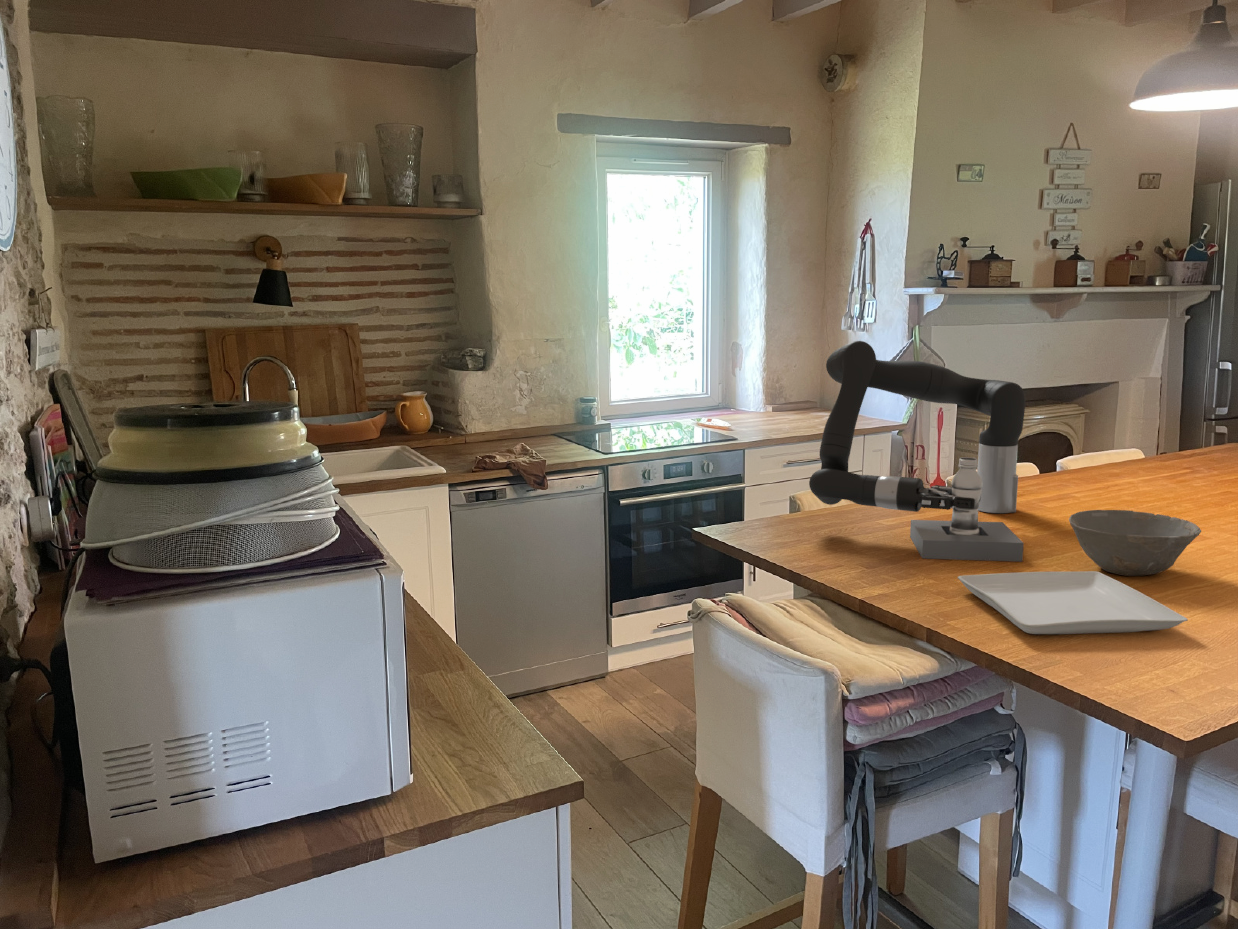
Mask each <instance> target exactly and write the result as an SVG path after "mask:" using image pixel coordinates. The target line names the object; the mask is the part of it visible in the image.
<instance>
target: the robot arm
mask: <svg viewBox="0 0 1238 929" xmlns="http://www.w3.org/2000/svg"><path fill="white" fill-rule="evenodd" d="M825 367H826V371H827V373H828V375H829V377H830V378H832V380H834V381H835V382H837V383H839V384H841V385H840V389H839V393H838V395H837V398H836V400H835V403H834V405H833V407H832V409H831V411H830V414H829V416H828V418H827V419H826V422H825V426H824V427H823V428H824V430H823V433H822V436H821V438H822V439H821V442H820V448H819V459H820V461H821V462H820V463H821V466H820V469H819V470H816V471H815V472H814V473H812V475H811V476H810V478H809V484H808V485H809V489H810V491H811V493H812V494H813V495H814V496H815V497H816V498H817V499H818V500H819V501H820V502H822V503H823V504H826V505H831V506H833V505H836V504H838V503H840V502H841V501H842V500H844V501H849V502H852V503H854V504H856V505H861V506H865V507H866V506H867V507H876V508H877V507H878V508H882V509H887V510H894V511H895V510H896V511H906V512H907V511H908V512H915V513H916V512H917V513H918V512H919V511H920V510H921V508H923V509H937V510H946V511H949V510H951V509H953V508H955V506H956V507H958V508H968V509H973V508H974V507H975V499H974V498H966V497H956V496H952V486H946V485H939V484H936V485H931V486H930V487H924V481H923V479H922V478H920V477H918V478H917V477H909V476H908V477H907V476H895V475H870V474H858V473H853V472H851V471H849V459H850V455H851V450H852V445H853V439H854V435H855V429H856V425H857V422H858V419H859V414H860V411H861V408H862V404H863V401H864V398H865V396H866V393H867V389H868V388H870V389H871V388H872V389H877V390H881V391H884V392H888V393H892V394H895V395H896V394H897V395H900V396H905V397H909V398H910V399H911V398H912V399H916V400H921V401H924V402H928V403H929V402H930V403H934V404H936V403H937V404H947V405H948V404H951V405H957V406H962V407H966V408H968V409H969V410H970V409H971V410H972V411H976V412H978V413H981V414H984V415H986V416H990V417H989V424H988V427H987V429H984V430H982V431H980V433H979V437H978V454H977V468H976V471H977V473H978V474H979V476H980V477H981V479H982V483H983V485H982V491H981V496H980V500H979V507H978V512H982V513H983V512H985V513H989V514H990V513H991V514H1009V513H1016V512H1017V502H1018V501H1017V500H1018V499H1017V498H1018V487H1019V486H1018V485H1019V475H1018V474H1017V466H1018V465H1017V464H1018V450H1019V449H1018V448H1019V439H1020V436H1021V435H1022V432H1023V430H1024V429H1023V428H1024V421H1025V420H1024V419H1025V411H1026V395H1025V391H1024V390H1023V387H1022V386H1021V385H1020V384H1018V383H1015V382H1013V381H1005V380H997V379H985V378H983V379H982V378H975V377H968V376H965V375H962V374H959V373H958V372H955V371H954V370H951V369H950V368H947V367H945V366H941V365H938V364H934V363H929V362H925V361H919V360H881V359H877V356H876V352H875V349H874V348H873V347H872V346H871V344H869V343H868V342H866V341H862V340H855V341H851V342H848V343H847V344H844V345H843V346H841V347H839V348H837V349H835V350H834V351H833V352H832V353H831V354H830V355H829V356H828V358H827V360H826V363H825Z"/></svg>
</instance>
